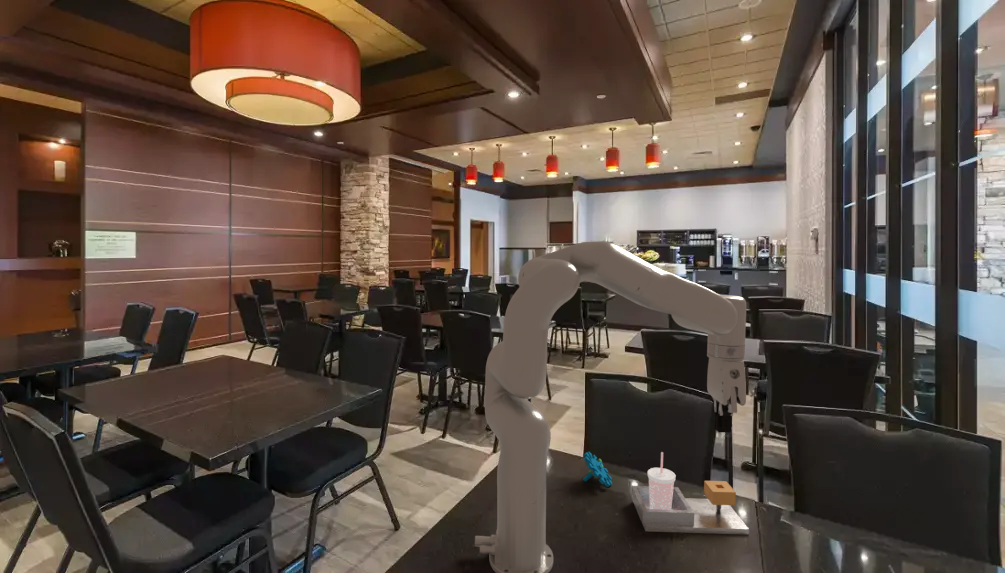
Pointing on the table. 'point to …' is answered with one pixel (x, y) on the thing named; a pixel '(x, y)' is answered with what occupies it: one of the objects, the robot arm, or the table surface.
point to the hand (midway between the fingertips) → (722, 430)
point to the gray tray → (687, 515)
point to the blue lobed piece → (596, 469)
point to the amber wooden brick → (719, 493)
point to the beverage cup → (661, 487)
